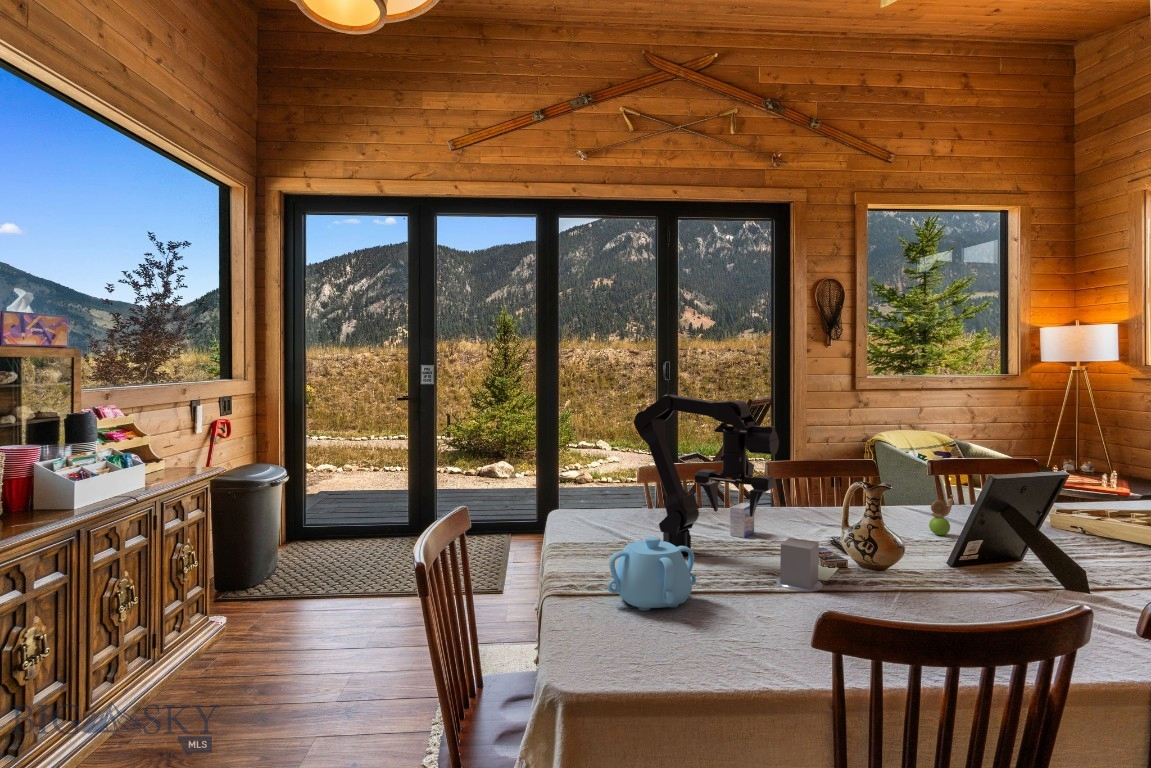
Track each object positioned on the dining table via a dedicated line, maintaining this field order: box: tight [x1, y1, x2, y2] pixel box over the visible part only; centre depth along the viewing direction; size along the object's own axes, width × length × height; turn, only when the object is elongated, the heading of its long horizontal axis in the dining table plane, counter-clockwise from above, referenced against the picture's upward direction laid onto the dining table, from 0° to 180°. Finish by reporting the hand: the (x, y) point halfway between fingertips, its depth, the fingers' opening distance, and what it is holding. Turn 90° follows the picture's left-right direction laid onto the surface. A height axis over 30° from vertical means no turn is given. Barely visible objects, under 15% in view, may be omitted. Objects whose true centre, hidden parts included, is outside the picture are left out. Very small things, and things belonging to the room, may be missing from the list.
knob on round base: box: [775, 576, 823, 593], centre depth 145 cm, size 10×10×4 cm
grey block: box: [779, 537, 820, 590], centre depth 145 cm, size 7×7×9 cm
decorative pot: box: [606, 535, 697, 612], centre depth 135 cm, size 16×16×14 cm
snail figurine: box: [928, 494, 955, 536], centre depth 188 cm, size 5×6×12 cm
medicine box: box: [729, 502, 755, 539], centre depth 188 cm, size 8×4×9 cm, turn 143°
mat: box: [818, 563, 839, 582], centre depth 155 cm, size 11×11×1 cm
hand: (733, 513), depth 158 cm, fingers open, 9 cm apart
